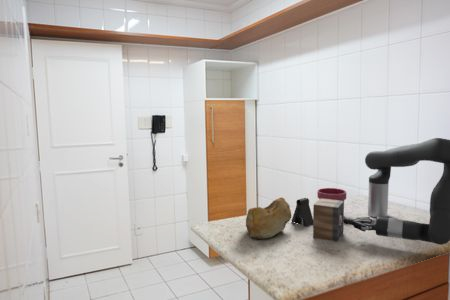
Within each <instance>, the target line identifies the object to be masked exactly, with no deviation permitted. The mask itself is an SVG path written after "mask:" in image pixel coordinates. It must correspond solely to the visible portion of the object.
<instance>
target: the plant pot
mask: <svg viewBox="0 0 450 300" xmlns="http://www.w3.org/2000/svg"><path fill="white" fill-rule="evenodd" d="M316 193H317V194H316V195H317V198H318V200H320V199H321V198H322V199H331V200H340V201H344V202H345V200H347V191H346V190H345V189H342V188H337V187H336V188H335V187H334V188H333V187H326V188H319V189H318V190H317V192H316Z"/></svg>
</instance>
